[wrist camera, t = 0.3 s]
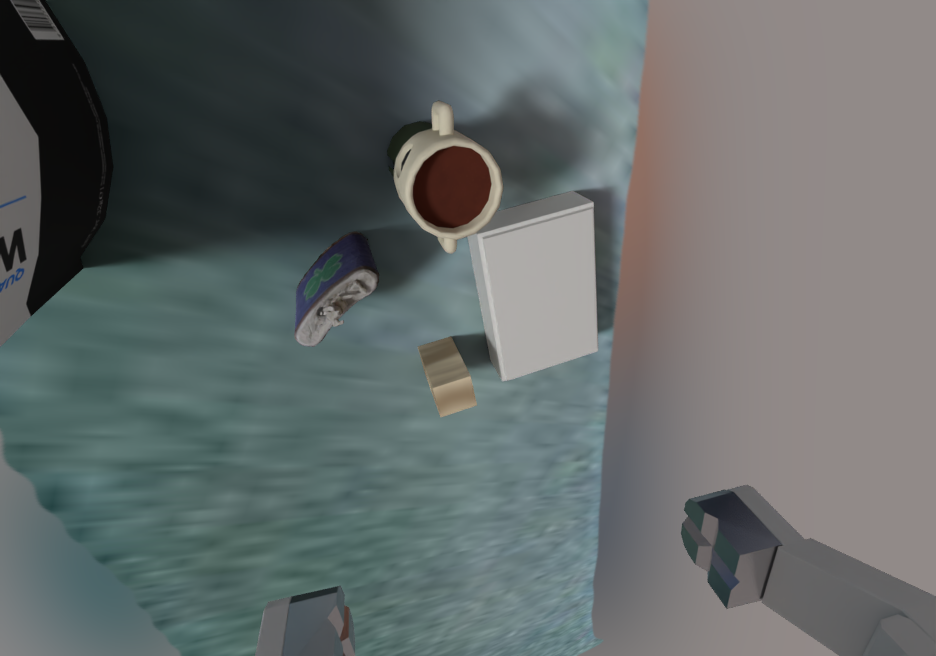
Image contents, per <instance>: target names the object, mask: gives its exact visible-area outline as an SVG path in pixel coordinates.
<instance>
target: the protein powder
mask: <svg viewBox="0 0 936 656" xmlns="http://www.w3.org/2000/svg"><path fill="white" fill-rule="evenodd" d="M112 172H113V161H112V154H111V146H110V139H109V131H108V124H107V117H106V115H105V112H104V110H103V107H102V105H101V102H100V99H99V97H98V94H97V92H96V89H95V87H94V84H93V82H92V79H91V77H90V74H89V71H88V69H87V66H86V64H85V62H84V60H83V59H82V57H81V56H80V54H79V53H78V51H77V50H76V48H75V46H74V45H73V43H72V42H71V40H70V39H69V37H68V35H67V34H66V32H65V31H64V29H63V28H62V26H61V25H60V23H59V21H58V20H57V18H56V17H55V15H54V14H53V12H52V11H51V9H50V7H49V6H48V4H47V3H46V1H45V0H0V347H1V346H2V345H3V344H4V343H5V342H6V341H7V340H8V339H9V338H10V337H11V336H12V335H13V333H14V332H15V331H16V330H17V329H18V328H19V327H20V326H21V325H22V324H23V323H24V322H25V321H26V320H27V319H28V318H30V317H31V316H32V315H33V314H34V313H35V312H36V311H37V310H38V309H39V308H40V307H42V306H43V305H44V304H45V303H46V302H47V301H48V300H49V299H50V298H51V297H52V296H54V295H55V294H56V293H57V292H58V291H59V290H60V289H61V288H62V287H63V286H65V285H66V284H67V283H68V282H69V281H70V280H71V279H72V278H73V277H74V276H75V275H77V274H78V273H79V272H80V271H81V270H82V269H83V265H82V262H81V259H80V257H81V255H82V254H83V252H84V251H85V249H86V248H87V246H88V245H89V243H90V241H91V240H92V238H93V237H94V235H95V234H96V232H97V231H98V229H99V228H100V226H101V225H102V223H103V222H104V220H105V217H106V211H107V204H108V198H109V191H110V185H111V178H112Z"/></svg>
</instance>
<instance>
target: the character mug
mask: <svg viewBox="0 0 936 656" xmlns="http://www.w3.org/2000/svg"><path fill="white" fill-rule="evenodd" d="M387 155H388V156H389V157H390V158H391V159H392V160H393V164H394V169H392V168H391V167H390V166H389V171H390V172H391V174H392V175H393V177H394V182H395V186H396V189H397V192H398V195H399V198H400V199H401V201H402V202H403V203H404V205H405V207H406V209H407V211H408V212H409V213H410V215H411V216H412V217H413V219H414V220H415V221H416V222H417V223H418V224H419V225H420V227H421V228H422V229H424V230H425V231H427V232H429V233H431V234H433V235H435V236H437V237H438V240H439V242H440V244H441V245H442V247H443V248H444V250H445V251H446V252H448V253H451V254H452V253H453V252H455V251H456V247H457V240H458V239H461V238H464V237H467V236H470V235H474V234H475V233H477V232H478V231H479V230H481V229H482V228H483V227H484V226H486V225H487V224H488V223H489V222H490V221H491V219H492V218H493V216H494V214H495V213H496V211H497V210H498V208H499V206H500V202H501V197H502V192H503V182H502V176H501V170H500V168H499V166H498V164H497V163H496V161H495V160H494V158H493V157H492V155H491V153H490V152H489V151H488V150H487V149H485V148H484V147H482V146H481V145H479V144H478V143H476V142H475V141H473V140H472V139H470V138H468V137H466V136H464V135H463V134H461V133H459V132H457V131H456V130H454V116H453V110H452V108H451V106H450V105H449V104H446V103H444V102H441V101H439V100H438V101H436V102H435V103H433V106H432V124H431V123H426V122H421V121H419V122H416V123H412V124H408V125H405V126H403V127H402V128H401V129H400V130H399V131H398V132H397V133H396V134H395V135H394V136H393V138H392V140H391V143H390V145H389V148H388V150H387Z"/></svg>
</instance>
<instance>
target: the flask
mask: <svg viewBox="0 0 936 656" xmlns="http://www.w3.org/2000/svg"><path fill="white" fill-rule="evenodd" d="M367 240H368V239H366V237H364V236H363V235H362V234H361V233H358V232H351V233H349V234H347V235H344V236H343V237H341V238H340V239H339V240H338V241H336V242H335V243H333V244H332V246H330V247H328V249H326V250H325V251H324V253H323V254H321V255H320V256H319V258H318V260H317V261H316V262H315V263H314V264H313V266H312V267H311V268H310V269H309V271H308V272H307V273H306V274H305V275H304V277H303V279H302V280H301V281H300V283H299V285H298V287H297V291H296V322H295V339H296V340H297V342H299V343H300V344H301V345H303V346H313V347H314V346H315V345H317V344H318V343H320V342H321V341H322V340H323V339H324V337H325V336H326V334H327V332H328V331H329V330H330V328H331V327H332V326H335V327H336V326H339V325H340V324H343V323H344V321H339V320H338V319H339V318H340V317H341V316H342V315H343V314H344V313H345V312H346V311H348V309H349V308H350V307H352V306H353V305H354V304H355V303H357V302H358V301H359V300H361V299H363V298H364V297H366V296H368V295H370V294H371V293H372V292H373V291H374V290H375V289H376V287H377V284H378V282H379V273H378V271H377V268H376V265H375V262H374V259H373V257H372V253H371V250H370V248H369V245H368V242H367Z"/></svg>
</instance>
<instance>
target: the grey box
mask: <svg viewBox="0 0 936 656" xmlns="http://www.w3.org/2000/svg"><path fill="white" fill-rule="evenodd" d="M467 237H468V242H469V248H470V253H471V259H472V264H473V269H474V275H475V280H476V286H477V291H478V296H479V302H480V307H481V313H482V318H483V323H484V329H485V334H486V340H487V345H488V350H489V356H490V361H491V362H492V364H493V366H494V368H495V369H496V371H497V373H498V375H499V376H500V378H501V380H502V381H505V380H507V381H508V380H511V379H514V378H517V377H520V376H523V375H526V374H529V373H532V372H535V371H538V370H542V369H545V368H548V367H551V366H554V365H557V364H560V363H563V362H566V361H569V360H572V359H575V358H578V357H581V356H584V355H587V354H590V353H593V352H597V350H598V330H597V297H596V265H595V232H594V202H593V201H591V200H589V199H587V198H585V197H583V196H582V195H580V194H578V193H576V192H574V191H570V192H567V193H563V194H559V195H556V196H552V197H548V198H545V199H541V200H537V201H534V202H530V203H526V204H523V205H519V206H515V207H512V208H508V209H504V210H501V211H497V212H496V213H495V214H494V216H493V218H492V219H491V221H490V222H489V223H488V224H487V225H486V226H484V227H483V228H482V229H481V230H479V231H478V232H477V233H475V234H474V235H470V236H467Z"/></svg>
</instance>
